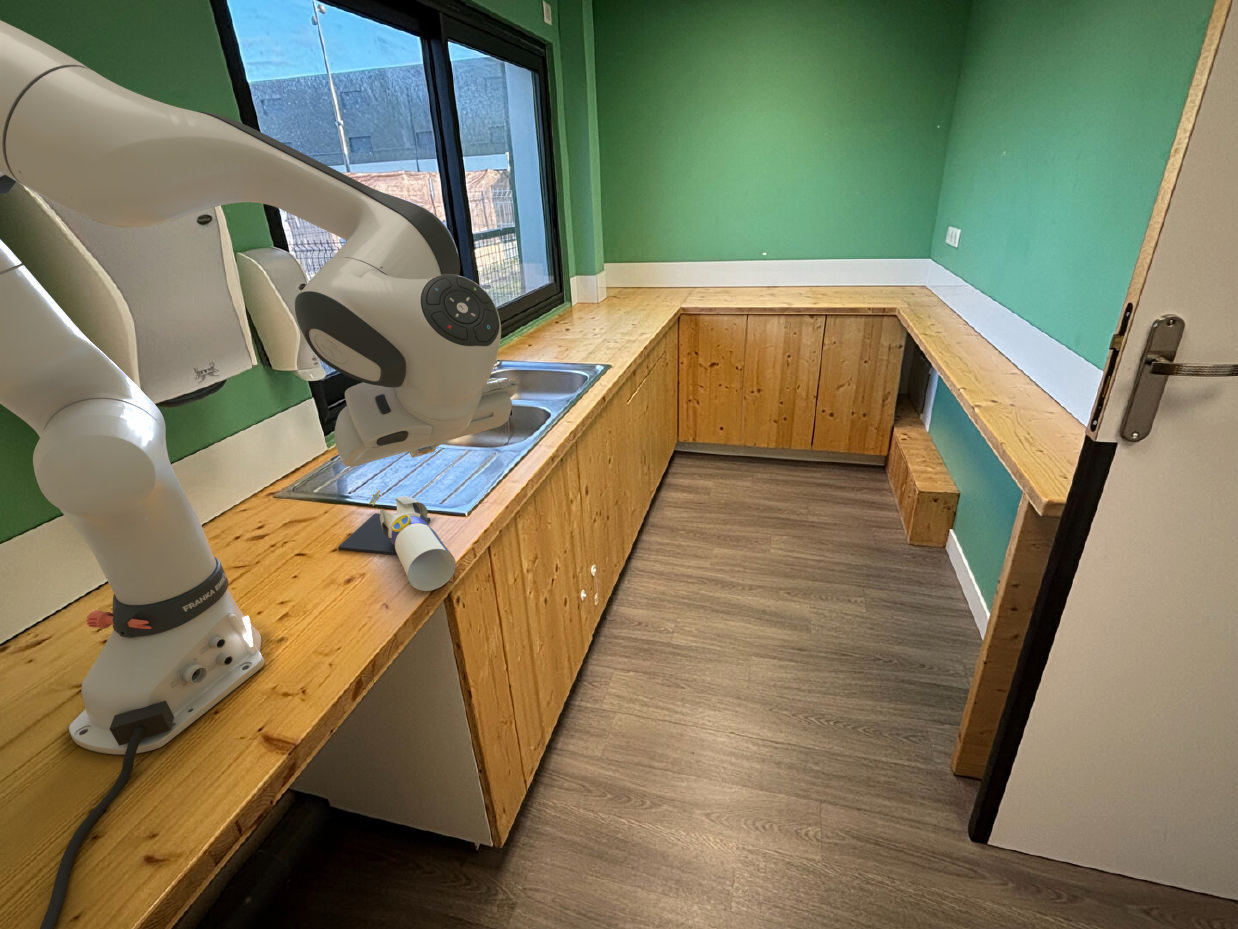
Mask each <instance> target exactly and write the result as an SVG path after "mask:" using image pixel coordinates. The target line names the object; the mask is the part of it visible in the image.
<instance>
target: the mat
mask: <svg viewBox="0 0 1238 929" xmlns="http://www.w3.org/2000/svg"><path fill="white" fill-rule="evenodd" d="M427 521H428V523H430V522H431V517H427ZM337 549H338V551H349V552H360V553H370V554H381V555H391V556H398V555H397V553H396V549H395V545H394V544H392V542H391V541H390V539H389V538H388V537H387V536H385V535H384V533H383V531H382V526H381V522H380V513H374V514H373V515H371V516H370V517H368V519H367V520H365V522H364V523H362V524H361V525H360V526H359V527H358V528H357V529H356V530H354V532H352V533H351V534H350V535H349V536H348V537H347V538H346V539H345V540H344V541H342V543H340V544H339V545H338V546H337Z"/></svg>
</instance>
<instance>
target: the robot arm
mask: <svg viewBox="0 0 1238 929" xmlns="http://www.w3.org/2000/svg"><path fill="white" fill-rule="evenodd" d="M17 183H19V184H20V185H22V186H24V187H25V188H27V189H28V190H30V191H32V192H34V193H36V194H38V195H39V196H41V197H42V198H44V199H47V200H48V201H50V202H52V203H53V204H55V205H57V206H59V207H61V208H63V209H64V210H67V211H68V212H71V213H72V214H75V215H77V216H80V217H82V218H84V219H87V220H89V221H93V222H96V223H99V224H103V225H106V226H111V227H116V228H117V227H118V228H145V227H147V228H148V227H153V226H160V225H163V224H167V223H171V222H174V221H176V220H178V219H182V218H185V217H187V216H189V215H192V214H195V213H198V212H202V211H205V210H208V209H212V208H217V207H221V206H226V205H231V204H240V203H257V204H262V205H267V206H271V207H274V208H277V209H278V210H279V209H280V210H282V211H284V212H286V213H288V214H290V215H292V216H295V217H297V218H299V219H301V220H303V221H305V222H307V223H309V224H311V225H313V226H316V227H318V228H320V229H322V230H324V231H326V232H328V233H330V234H333V235H334V236H337V237H339V238H341V239H343V240H345V242H344V244H343V245H342V246H341V247H340V248H339V249H338V250H337V252H336V253H335V254H334V255H333V256H332V257H331V258H330V259H329V260H328V261H326V262H325V263H324V264H323V266H322V267H321V268H319V270H318V271H317V272H316V273H315V274H314V276H313V277H312V278H311V279H310V280H309V281H308V282H307V284H306V285H305V286H304V287H303V289H301V291H300V292H299V293H298V294H297V295H296V296H295V299H294V314H295V318H296V321H297V324H298V327H299V329H300V331H301V333H302V335H303V337H304V339H305V341H306V343H307V345H308V346H309V347H310V349H311V350H312V352H313V354H314V355H316V357H317V358H318V359H319V360H320V361H321V362H323V363H324V364H325V365H327V366H328V367H329V368H331V369H333V370H335V371H336V372H338V373H340V374H341V375H344V376H346V377H348V378H350V379H353V380H354V381H358V382H360V383H357V384H355V385H352V386H351V387H348V388H347V389H346V390H345V391H344V399H345V402H346V406H344V408H343V409H341V410H340V412H339V413H338V416H337V417H336V418H337V419H336V421H335V426H334V433H333V442H334V444H335V448H336V451H337V454H338V456H339V458H340V460H341V462H342V465H343V466H346V467H350V468H355V467H358V466H361V465H364V464H369V463H372V462H376V461H379V460H383V459H387V458H391V457H393V456H398V455H402V454H404V453H405V454H406V453H409V455H410V457H411V458H412V459H415V458H418V457H420V456H424V455H427V454H432V453H435V452H436V449H437V448H438V447H439V446H441V445H442V444H444V443H445V442H448V441H451V440H456V439H460V438H463V437H466V436H470V435H473V434H478V433H482V432H485V431H488V430H492V429H496V428H499V427H501V426H502V425H504V424H505V423H507V422H508V421H509V418H510V416H511V412H512V409H513V408H512V407H513V401H512V397H513V396H514V395H515V394H516V393H517V390H518V388H519V386H518V385H519V384H518V381H516V380H515V379H513V380H511V379H509V378H507V377H506V378H504V377H503V378H498V377H492V378H491V376H492V373H493V370H494V367H495V365H496V361H497V358H498V354H499V349H500V345H501V338H502V336H501V335H502V325H501V319H500V315H499V311H498V309H497V306H496V304H495V302H494V300H493V299H492V297H491V296H490V295H489V293H488V292H487V291H486V290H485V288H483V287H482V286H481V285H480V284H478V283H477V282H475V281H473V280H472V279H470V278H467V277H465V276H462V275H460V272H461V262H460V255H459V252H458V248H457V245H456V243H455V240H454V238H453V235H452V234H451V232H450V230H449V229H448V227H447V226H446V225H445V223H444V222H443V221H442V220H441V219H440V218H439V217H438V216H437V215H436V214H434V213H433V212H432V211H431V210H429V209H427V208H426V207H424V206H422V205H420V204H418V203H416V202H412V201H411V200H408V199H405V198H402V197H398V196H395V195H393V194H392V195H391V194H389V193H386V192H383V191H380V190H378V189H376V188H373V187H370V186H369V185H366V184H364V183H362V182H361V181H359V180H356V179H354V178H352V177H350V176H348V175H346V174H344V173H343V172H340V171H338V170H336V169H334V168H333V167H330V166H329V165H326V164H325V163H322V162H321V161H319V160H317V159H315V158H313V157H311V156H309V155H307V154H305V153H303V152H301V151H299V150H297V149H295V148H293V147H291V146H290V145H287V144H286V143H284V142H281V141H279V140H277V139H276V138H273V137H271V136H270V135H267V134H266V133H263V132H262V131H260V130H257V129H255V128H253V127H251V126H249V125H247V124H244V123H242V122H240V121H237V120H235V119H233V118H230V117H228V116H224V115H221V114H217V113H212V112H206V111H205V112H204V111H196V110H191V109H187V108H182V107H178V106H174V105H171V104H168V103H164V102H162V101H159V100H155V99H153V98H150V97H147V96H145V95H143V94H140V93H137V92H136V91H132V90H130V89H128V88H125V87H124V86H122V85H119V84H118V83H115V81H114V82H113V81H111V80H109V79H108V78H106V77H104V76H103V75H101V74H100V73H97V72H96V71H95V70H93V69H92V68H90V67H88V66H86V65H85V64H83V63H82V62H80V61H78V60H77V59H75V58H73V57H72V56H70V55H68V54H66V53H64V52H63V51H61V50H59V49H57V48H55V47H54V46H52V45H50V44H49V43H47V42H45V41H43V40H41V39H39V38H37V37H35V36H33V35H31V34H30V33H27V32H25V31H24V30H21V29H20V28H17V27H16V26H14V25H11V24H9V23H7V22H5V21H3V20H1V19H0V194H1V195H2V194H3V195H4V194H8V193H9V192H10V191H12V189H13V188H14V187H15V185H16V184H17ZM0 405H1V406H3V407H4V408H6V409H7V410H9V411H10V412H11V413H13V414H14V415H16V416H17V417H18V418H20V419H21V420H22V421H24V422H25V423H26V424H27V425H29V426H30V428H32V430H34V431H35V433H36V434H37V436H38V437H39V439H38V441H37V443H36V445H35V448H34V451H33V454H32V466H33V472H34V476H35V479H36V482H37V485H38V487H39V489H40V492H41V494H42V495H43V496H44V498H46V500H47V501H48V502H49V503H51V504H52V505H53V506H55V507H56V508H57V509H59V510H60V512H61V513H62V515H64V517H65V518H66V519H67V521H68V522H69V523H70V524H71V525H72V527H73V528H74V529H75V530H76V532H78V534H79V535H80V536H81V537H82V539H83V541H85V543H86V545H88V547H89V549H90V551H91V552H92V554H93V556H94V558H95V560H96V561H97V563H98V565H99V567H100V569H101V571H102V573H103V575H104V577H105V578H106V581H107V583H108V584H109V586H110V588H111V590H112V592H113V597H112V610H111V611H112V612H110V611H101V610H93V611H92V612H91V611H90V613H89V614H88V615H87V617H86V620H85V622H86V625H87V626H88V627H89V628H99V629H101V630H102V629H104V630H105V629H108V628H109V627H111V626H112V629H113V630H112V632H111V634H110V635H109V637H108V639H107V640H106V642H105V643H104V646H103V647H102V649H101V650H100V652H99V654H98V656H97V657H96V659H95V661H94V662H93V664H92V666H91V668H90V669H89V671H88V672H87V674H86V676H85V677H84V678H83V680H82V683H81V685H80V686H81V688H80V693H81V699H82V703H83V707H84V710H83V711H82V712H81V713H80V714H78V716H76V718H75V719H74V720H73V721H72V722H71V723H70V724H69V726H68V730H69V734H70V737H71V739H72V741H73V742H74V743H75V744H76V745H77V746H79V747H82V748H83V749H86V750H89V751H92V752H95V753H101V754H107V755H108V754H109V755H119V756H120V755H123V758H122V767H121V770H120V772H119V775H118V777H117V779H116V780H115V782H114V783H113V785H112V787H111V788H110V790H109V791H108V792H107V793H106V795H105V796H104V797H103V798H102V800H101V801H100V802H99V803H98V804H97V805H96V806H95V807H94V809H92V811H91V812H90V813H89V814H88V815H87V816H86V817H85V818H84V820H83V821H82V822H81V823H80V825H79V826H78V828H77V829H76V831H75V832H74V834H72V837H71V838H70V840H69V842H68V844H67V846H66V848H65V850H64V852H63V855H62V857H61V859H60V862H59V865H58V868H57V872H56V876H55V879H54V884H53V888H52V891H51V895H50V899H49V903H48V906H47V909H46V912H45V914H44V918H43V919H42V922H41V925H40V927H39V929H55V926H56V924H57V921H58V919H59V916H60V914H61V911H62V908H63V904H64V900H65V896H66V893H67V888H68V883H69V880H70V875H71V871H72V868H73V864H74V862H75V859H76V856H77V853H78V851H79V849H80V847H81V844H82V842H83V841H84V839H85V838H86V836H87V834H88V833H89V831H90V830H91V828H92V827H93V826H94V825H95V823H96V822H97V821H98V820H99V819H100V817H101V816H102V815H103V814H104V813H105V812H106V810H107V809H108V808H109V807H110V805H111V804H112V803H113V801H114V800H115V799H116V797H117V796H118V795H119V794H120V792H121V791H122V790H123V788H124V787H125V786H126V784H127V782H128V781H129V779H130V777H131V774H132V772H133V769H134V764H135V758H136V754H141V753H147V752H150V751H153V750H158V749H160V748H162V747H164V746H165V745H166V744H168V743H169V742H170V741H172V740H173V739H174V738H175V737H177V736H178V735H180V733H182V732H184V730H185V729H187V728H188V727H189V726H190V725H192V724H193V723H194V722H196V721H197V720H198V719H200V718H201V717H202V716H203V715H204V714H206V713H207V712H208V711H209V710H210V709H212V708H213V707H214V706H216V705H217V704H218V703H219V702H221V701H222V700H223V699H225V698H226V697H227V696H228V695H229V694H231V693H232V692H233V691H235V690H236V689H237V688H238V687H239V686H241V685H242V684H243V683H245V682H246V681H247V680H249V678H251V677H252V676H254V674H256V673H257V672H258V671H260V670H261V669H262V668H263V667H264V666H265V661H266V660H265V658H264V656H263V655H262V653H261V647H262V636H261V633H260V632H259V630H258V629H257V628H255V626H254V625H253V624H252V623H251V619H250V617H249V615H245V614H244V613H243V612H242V610H241V608H240V607H239V606H238V604H237V603H236V601H235V599H234V597H233V595H232V593H231V591H230V589H229V588H228V587H229V579H228V576H227V574H226V572H225V569H224V567H223V565H222V563H221V561H220V559H219V558H218V557H216V556H214V553H213V550H212V548H211V545H210V543H209V540H208V538H207V536H206V533H205V530H204V528H203V525H202V523H201V521H200V518H199V515H198V513H197V511H196V509H195V508H194V507H193V506H192V503H191V502H190V500H189V499H188V497H187V494H186V493H185V491H184V489H183V487H182V485H181V483H180V481H179V479H178V477H177V475H176V473H175V471H174V469H173V466H172V464H171V460H170V458H169V454H168V448H167V439H166V438H167V437H166V436H167V434H166V433H167V432H166V431H167V427H166V421H165V418H164V416H163V414H162V412H161V410H160V409H159V407H157V406H158V405H156V404H155V403H154V402H153V401H152V400H151V399H150V397H149V396H148V395H146V393H144V391H143V390H142V389H141V388H140V387H139V386H138V384H136V383H135V382H134V381H133V380H132V379H131V377H129V376H128V375H127V374H126V373H125V372H124V371H123V370H122V369H121V368H120V367H119V366H118V365H117V364H116V363H115V362H114V361H113V360H112V359H110V358H109V357H108V355H106V354H105V353H104V351H102V350H101V349H100V348H99V347H98V346H97V345H96V344H94V343H93V342H92V341H91V340H90V339H89V338H88V337H87V336H86V334H84V333H83V331H81V329H80V328H79V327H78V326H77V324H75V323H74V321H72V319H71V318H70V317H69V316H68V315H67V314H66V312H65V311H64V310H63V309H62V307H61V306H59V304H58V303H57V301H55V299H54V298H53V297H52V296H51V295H50V294H49V292H48V291H47V290H46V289H45V288H44V287H43V285H42V284H41V283H40V282H39V281H38V280H37V279H36V277H35V276H34V275H33V274H32V273H31V271H30V270H29V269H28V268H27V267H26V266H25V265H24V264H23V262H22V261H21V260H20V259H19V258H18V257H17V255H16V254H15V253H14V252H13V251H12V250H11V249H10V248H9V246H7V244H6V243H5V242H4V241H3V240H2V239H1V238H0Z"/></svg>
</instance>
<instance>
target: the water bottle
mask: <svg viewBox="0 0 1238 929" xmlns="http://www.w3.org/2000/svg"><path fill="white" fill-rule="evenodd" d="M380 492H381V489H379V490H378V491H377V492H376V493H375V494H372V496H371V500H370V501H369V503H368V505H372V507H374V506H375V504H376V503H377V501H378V500H379V499H380V498H381V497H380ZM395 503H396V514H393V513H391V512H389V511H387V510H385V509H383V508H381V509H380V511H379V514H380V522H381V526H382V531H383V533H384V535H385V536H387V537H388V538H389V539H390V541H391V542H392V544H394V545H395V549H396V553H397V555H396V556H397V558H398V559H399V562H400V563H401V566H402V568H403V570H404V572H405V575H406V577H407V580H408V582H409V584H410V585H411V587H413V588H414V589H416V590H418V591H421V592H423V591H424V592H428V591H429V592H430V591H434V590H437V589H439V588H441V587H443V586H444V585H446V584H447V583H448V582H449V581H450V580H451V579H452V577H453V576H454V574H455V571H456V567H457V562H456V558H455V556H454V555H453V554H452V552H451V551H450V550H449V549H448V547H447V546H446V545H445V544H444V542H443V541H442V539H441V538H440V536H439V535H438V534H437V532H436V531H435V530H434V529H433V528H432V527H430V524H429V523H430V522H429V523H428V521H427V518H428V512H429V511H428V508H427V507H426V505H425V504H424V503H422V502H421V501H419V500H416V499H415V498H413V497H411V496H406V495H405V496H404V495H403V496H397V497H395Z"/></svg>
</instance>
